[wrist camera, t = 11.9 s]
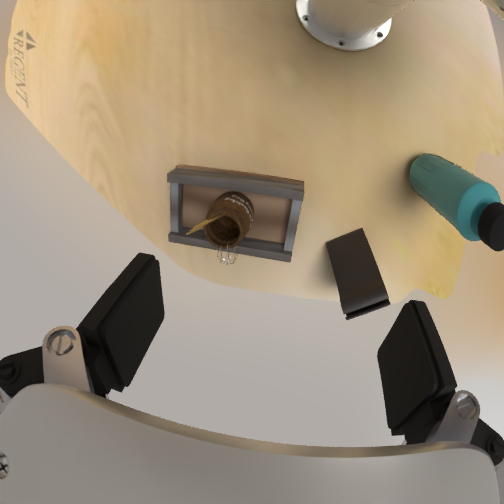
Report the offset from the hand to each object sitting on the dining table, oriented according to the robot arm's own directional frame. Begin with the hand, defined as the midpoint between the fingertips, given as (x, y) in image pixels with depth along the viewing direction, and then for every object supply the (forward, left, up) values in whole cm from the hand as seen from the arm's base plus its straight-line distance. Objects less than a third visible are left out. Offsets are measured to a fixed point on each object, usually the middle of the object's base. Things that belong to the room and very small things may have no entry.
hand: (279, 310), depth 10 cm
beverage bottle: (-2, +19, -30) cm, 36 cm away
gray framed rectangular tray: (+9, -7, -30) cm, 32 cm away
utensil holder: (+9, -7, -29) cm, 31 cm away
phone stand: (+14, +12, -30) cm, 36 cm away
